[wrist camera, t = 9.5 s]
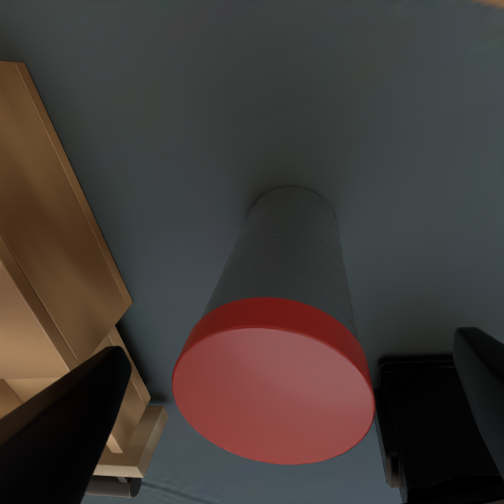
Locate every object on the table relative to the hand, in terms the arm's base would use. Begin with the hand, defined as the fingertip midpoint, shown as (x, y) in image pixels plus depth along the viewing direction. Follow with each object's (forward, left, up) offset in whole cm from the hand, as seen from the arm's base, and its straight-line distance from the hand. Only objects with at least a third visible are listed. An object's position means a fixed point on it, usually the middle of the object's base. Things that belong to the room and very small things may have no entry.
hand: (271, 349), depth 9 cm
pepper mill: (0, 0, -8) cm, 8 cm away
